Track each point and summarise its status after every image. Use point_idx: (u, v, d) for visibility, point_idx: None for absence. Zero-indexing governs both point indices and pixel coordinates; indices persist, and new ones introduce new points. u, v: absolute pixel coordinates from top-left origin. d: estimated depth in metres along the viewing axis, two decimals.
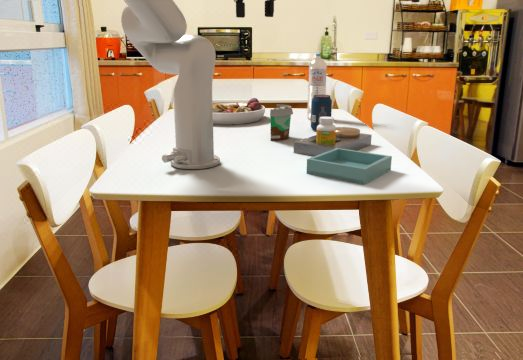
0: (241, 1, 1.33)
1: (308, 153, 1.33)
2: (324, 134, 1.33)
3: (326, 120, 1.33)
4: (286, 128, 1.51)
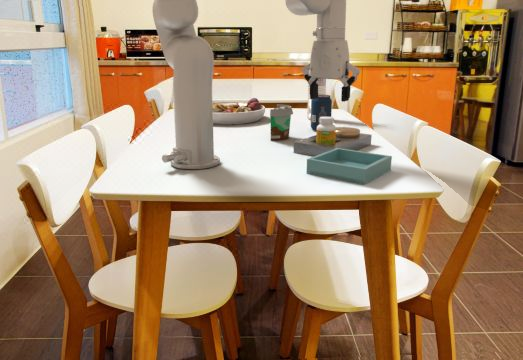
0: (315, 83, 1.35)
1: (308, 153, 1.33)
2: (324, 134, 1.33)
3: (326, 120, 1.33)
4: (286, 128, 1.51)
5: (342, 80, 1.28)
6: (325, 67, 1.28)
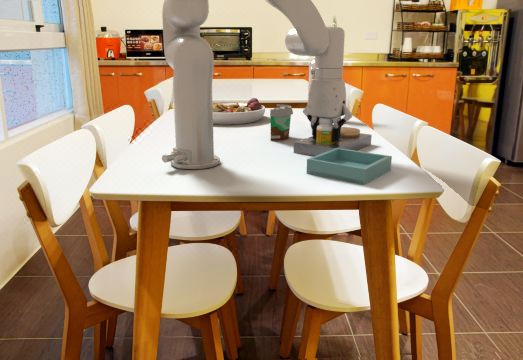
0: (317, 124, 1.37)
1: (308, 153, 1.33)
2: (324, 134, 1.33)
3: (326, 120, 1.33)
4: (286, 128, 1.51)
5: (334, 121, 1.32)
6: (322, 106, 1.31)
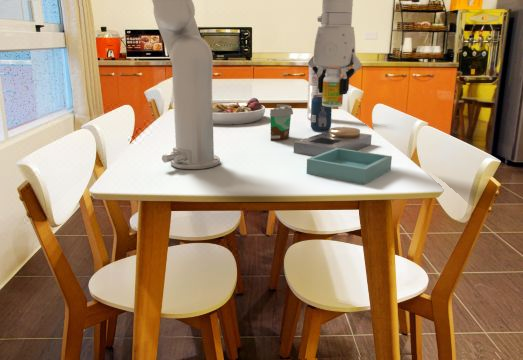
0: (324, 76, 1.28)
1: (308, 153, 1.33)
2: (332, 85, 1.24)
3: (334, 70, 1.24)
4: (286, 128, 1.51)
5: (342, 71, 1.23)
6: (330, 54, 1.22)
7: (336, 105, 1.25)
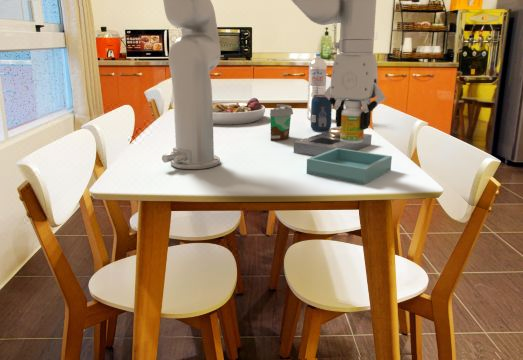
0: (342, 108, 1.14)
1: (308, 153, 1.33)
2: (352, 120, 1.11)
3: (353, 103, 1.10)
4: (286, 128, 1.51)
5: (363, 104, 1.09)
6: (349, 86, 1.09)
7: (356, 141, 1.12)
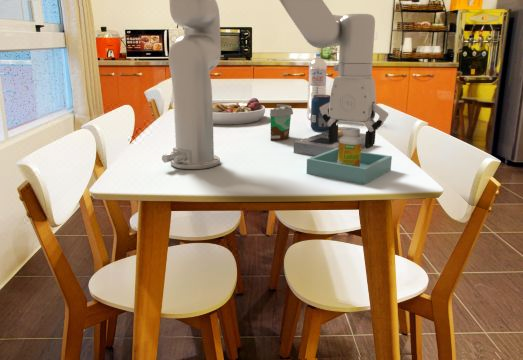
0: (335, 125, 1.17)
1: (308, 153, 1.33)
2: (348, 148, 1.13)
3: (351, 131, 1.12)
4: (286, 128, 1.51)
5: (367, 124, 1.10)
6: (348, 108, 1.10)
7: None
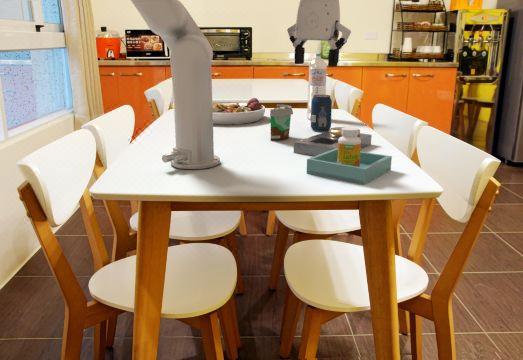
0: (301, 46, 1.20)
1: (308, 153, 1.33)
2: (348, 148, 1.13)
3: (349, 132, 1.12)
4: (286, 128, 1.51)
5: (330, 42, 1.13)
6: (312, 26, 1.13)
7: None
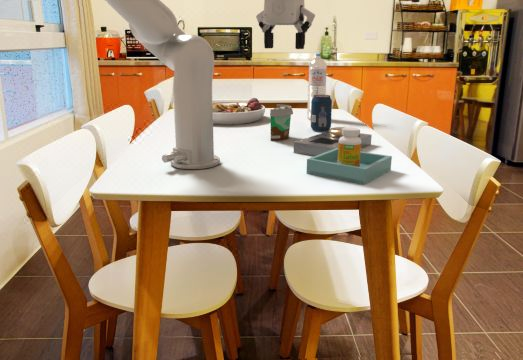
0: (270, 31, 1.27)
1: (308, 153, 1.33)
2: (348, 148, 1.13)
3: (350, 132, 1.12)
4: (286, 128, 1.51)
5: (296, 26, 1.20)
6: (278, 12, 1.21)
7: None
